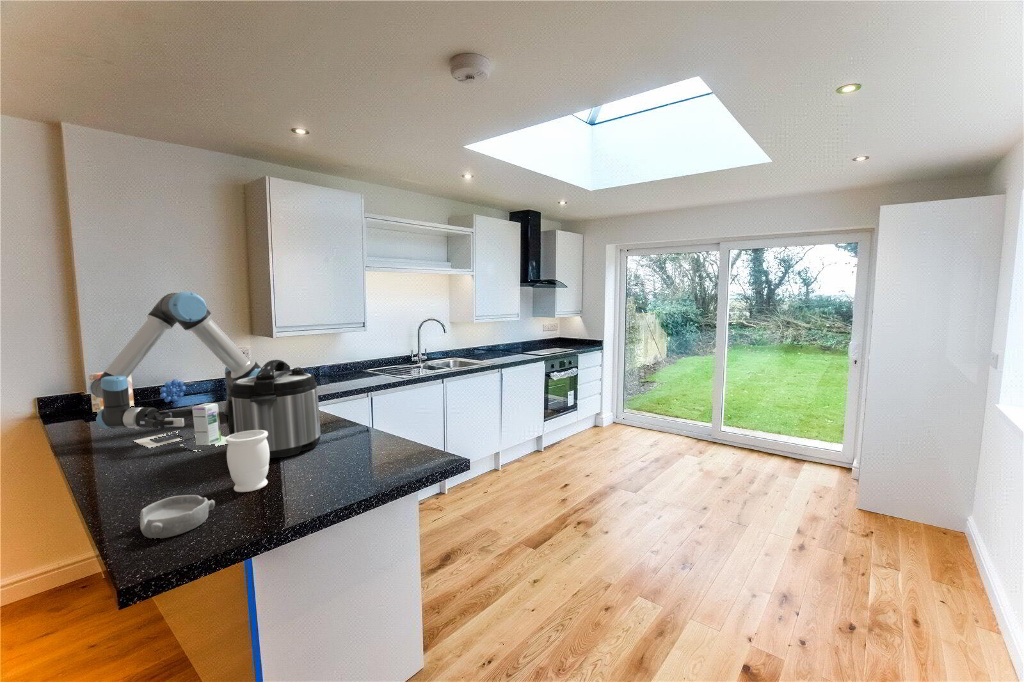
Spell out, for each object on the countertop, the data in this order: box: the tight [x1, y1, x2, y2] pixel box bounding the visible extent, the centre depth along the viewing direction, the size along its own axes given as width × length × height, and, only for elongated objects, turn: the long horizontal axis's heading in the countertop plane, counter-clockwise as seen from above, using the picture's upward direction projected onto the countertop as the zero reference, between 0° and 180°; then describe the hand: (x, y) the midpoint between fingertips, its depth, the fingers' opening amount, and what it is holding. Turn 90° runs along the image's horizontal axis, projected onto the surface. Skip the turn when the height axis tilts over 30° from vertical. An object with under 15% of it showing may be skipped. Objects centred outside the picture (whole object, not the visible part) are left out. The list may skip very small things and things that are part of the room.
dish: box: [139, 494, 216, 540], centre depth 110 cm, size 14×14×5 cm
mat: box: [179, 435, 228, 453], centre depth 172 cm, size 14×14×1 cm
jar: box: [225, 430, 270, 493], centre depth 131 cm, size 11×10×15 cm
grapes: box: [159, 378, 187, 403], centre depth 250 cm, size 12×7×12 cm, turn 133°
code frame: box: [132, 430, 182, 449], centre depth 180 cm, size 16×16×1 cm
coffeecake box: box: [88, 371, 135, 414], centre depth 233 cm, size 15×7×20 cm, turn 161°
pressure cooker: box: [227, 359, 321, 459], centre depth 163 cm, size 30×28×32 cm
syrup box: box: [192, 402, 222, 445], centre depth 172 cm, size 6×6×14 cm
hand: (197, 417), depth 172 cm, fingers open, 13 cm apart
